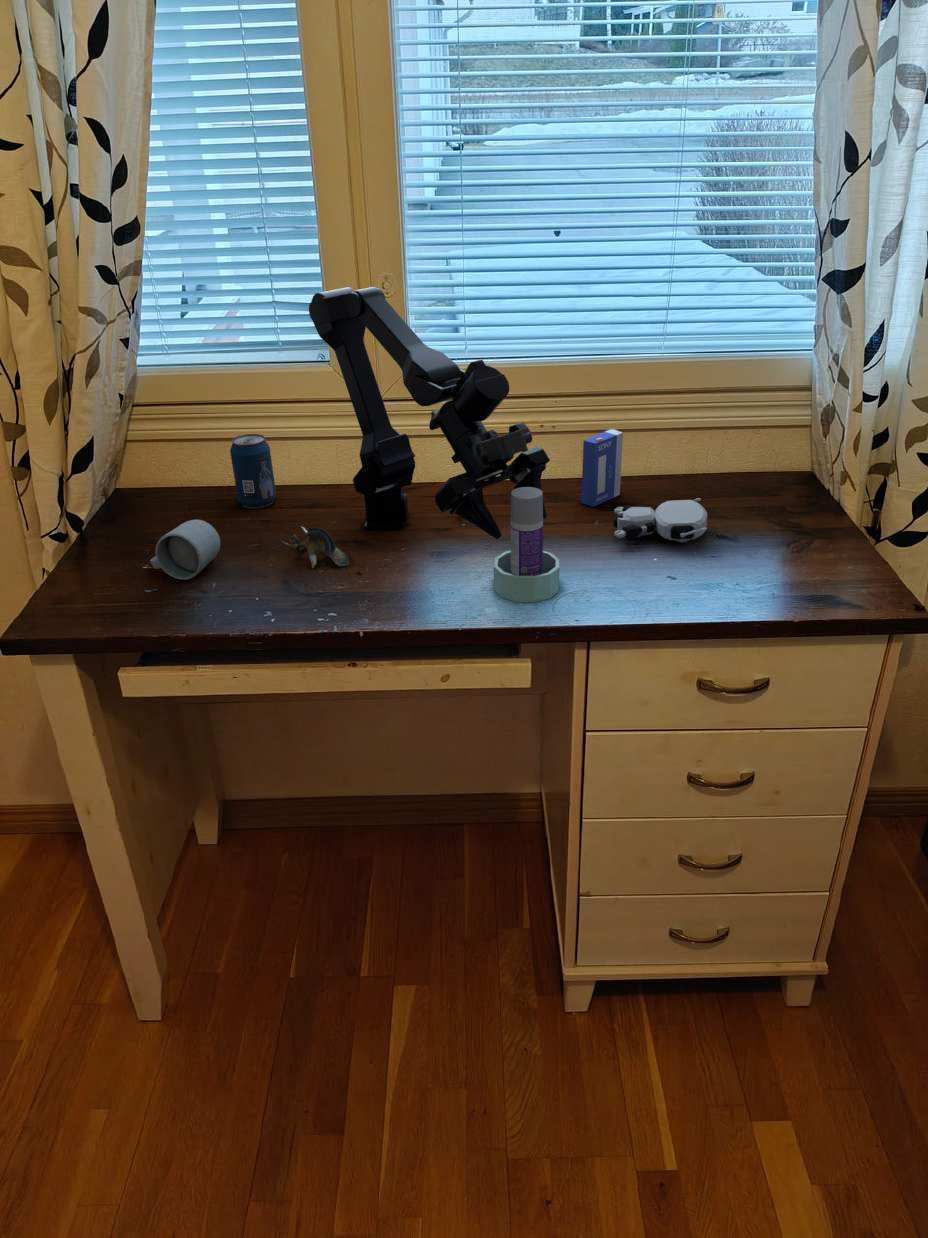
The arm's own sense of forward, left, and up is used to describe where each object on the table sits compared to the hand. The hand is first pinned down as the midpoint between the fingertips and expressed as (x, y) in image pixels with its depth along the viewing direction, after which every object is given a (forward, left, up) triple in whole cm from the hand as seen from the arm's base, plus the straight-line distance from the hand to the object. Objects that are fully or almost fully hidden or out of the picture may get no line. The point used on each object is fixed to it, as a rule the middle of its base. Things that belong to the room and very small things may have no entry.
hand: (522, 528), depth 138 cm
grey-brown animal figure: (-32, +6, -9) cm, 34 cm away
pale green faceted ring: (+1, -1, -9) cm, 9 cm away
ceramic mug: (-53, +3, -9) cm, 54 cm away
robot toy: (+22, +18, -9) cm, 30 cm away
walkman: (+13, +33, -9) cm, 37 cm away
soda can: (-49, +30, -9) cm, 59 cm away
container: (+1, -1, -9) cm, 10 cm away
